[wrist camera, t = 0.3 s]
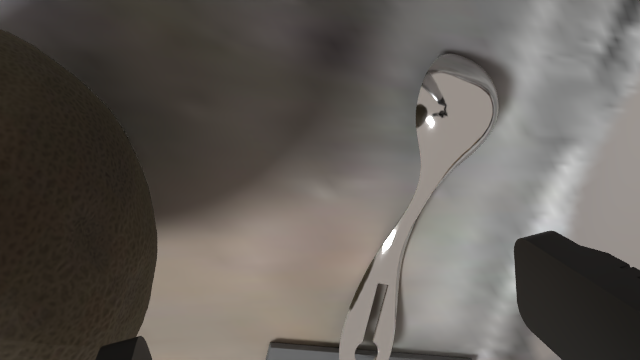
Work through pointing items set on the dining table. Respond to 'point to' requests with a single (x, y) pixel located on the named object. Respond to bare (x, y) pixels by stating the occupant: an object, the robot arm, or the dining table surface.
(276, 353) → the mat
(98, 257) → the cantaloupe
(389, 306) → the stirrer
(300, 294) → the dining table surface
